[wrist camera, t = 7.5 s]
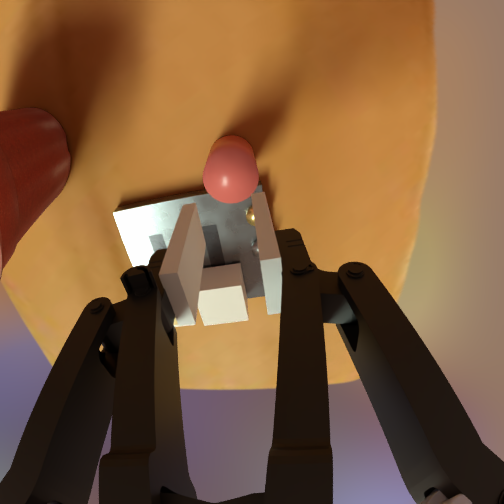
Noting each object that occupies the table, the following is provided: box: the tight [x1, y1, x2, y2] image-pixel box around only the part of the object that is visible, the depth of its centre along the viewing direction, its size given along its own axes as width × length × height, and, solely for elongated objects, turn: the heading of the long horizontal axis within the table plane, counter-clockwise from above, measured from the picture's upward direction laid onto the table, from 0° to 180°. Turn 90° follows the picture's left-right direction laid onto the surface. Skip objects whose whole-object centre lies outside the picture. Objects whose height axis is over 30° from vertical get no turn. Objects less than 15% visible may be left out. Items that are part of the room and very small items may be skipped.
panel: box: [113, 180, 265, 298], centre depth 34 cm, size 14×16×2 cm
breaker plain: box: [198, 263, 249, 326], centre depth 34 cm, size 5×5×4 cm
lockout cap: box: [203, 135, 259, 203], centre depth 26 cm, size 4×4×7 cm
